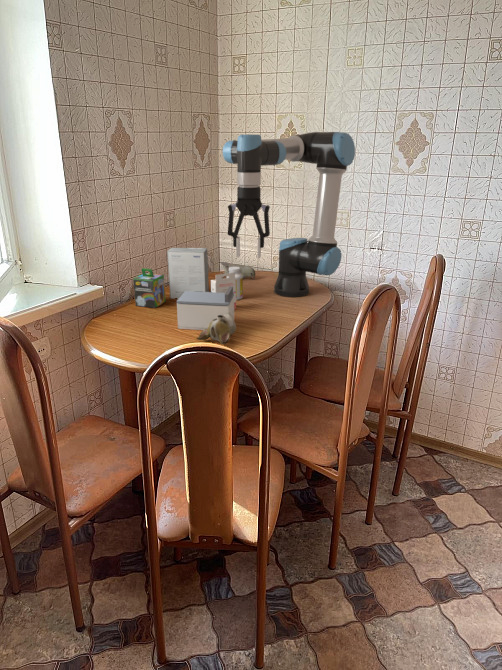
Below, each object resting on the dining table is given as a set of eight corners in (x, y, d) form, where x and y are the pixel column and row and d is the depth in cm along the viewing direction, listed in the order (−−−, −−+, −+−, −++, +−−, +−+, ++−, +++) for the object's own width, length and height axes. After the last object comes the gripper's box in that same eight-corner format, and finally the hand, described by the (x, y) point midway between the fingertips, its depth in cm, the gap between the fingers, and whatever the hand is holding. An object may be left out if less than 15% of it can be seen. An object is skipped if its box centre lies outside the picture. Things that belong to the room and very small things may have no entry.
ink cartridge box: (230, 305, 202) (230, 269, 196) (236, 309, 198) (236, 272, 192) (210, 308, 198) (210, 272, 193) (216, 312, 194) (215, 275, 189)
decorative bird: (254, 281, 236) (254, 264, 233) (218, 279, 239) (218, 262, 236) (256, 278, 241) (256, 261, 238) (221, 276, 244) (221, 259, 241)
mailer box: (234, 319, 187) (234, 296, 183) (228, 331, 175) (228, 306, 172) (186, 317, 189) (185, 294, 185) (177, 328, 178) (176, 304, 174)
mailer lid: (234, 295, 183) (234, 285, 182) (228, 305, 172) (228, 295, 171) (185, 293, 185) (184, 283, 184) (176, 303, 174) (176, 293, 173)
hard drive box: (209, 294, 216) (208, 248, 208) (206, 300, 209) (204, 252, 201) (173, 293, 217) (171, 247, 210) (169, 298, 210) (166, 251, 203)
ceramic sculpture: (243, 309, 170) (223, 326, 157) (244, 333, 173) (224, 351, 161) (215, 305, 174) (193, 322, 161) (216, 329, 177) (195, 346, 165)
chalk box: (166, 302, 206) (164, 266, 200) (155, 308, 198) (152, 271, 192) (146, 299, 209) (143, 264, 203) (134, 306, 201) (131, 269, 195)
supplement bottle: (238, 294, 216) (238, 265, 211) (245, 299, 210) (245, 268, 205) (224, 296, 213) (223, 266, 208) (230, 301, 207) (230, 270, 203)
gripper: (280, 185, 165) (278, 255, 174) (221, 184, 167) (222, 253, 176) (278, 187, 158) (276, 260, 167) (217, 186, 160) (218, 258, 169)
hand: (248, 256), depth 171 cm, fingers open, 6 cm apart
